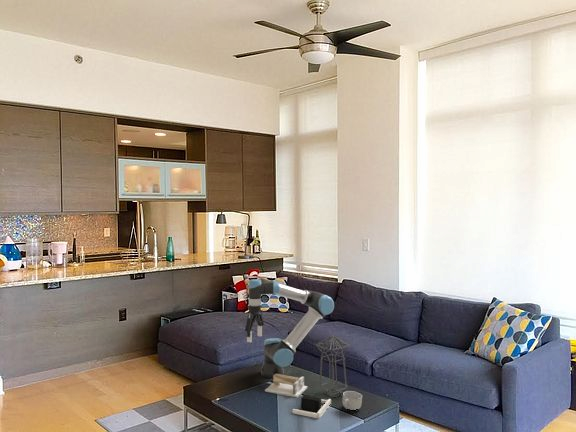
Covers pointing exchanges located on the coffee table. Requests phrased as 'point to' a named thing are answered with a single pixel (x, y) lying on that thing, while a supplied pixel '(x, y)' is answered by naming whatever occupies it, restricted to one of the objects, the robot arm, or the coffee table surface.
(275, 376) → the beige piece
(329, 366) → the geometric lantern
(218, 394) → the coffee table surface
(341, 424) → the coffee table surface
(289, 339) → the robot arm
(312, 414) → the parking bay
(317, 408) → the digital camera
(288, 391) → the rest board
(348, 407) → the teacup
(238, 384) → the coffee table surface
